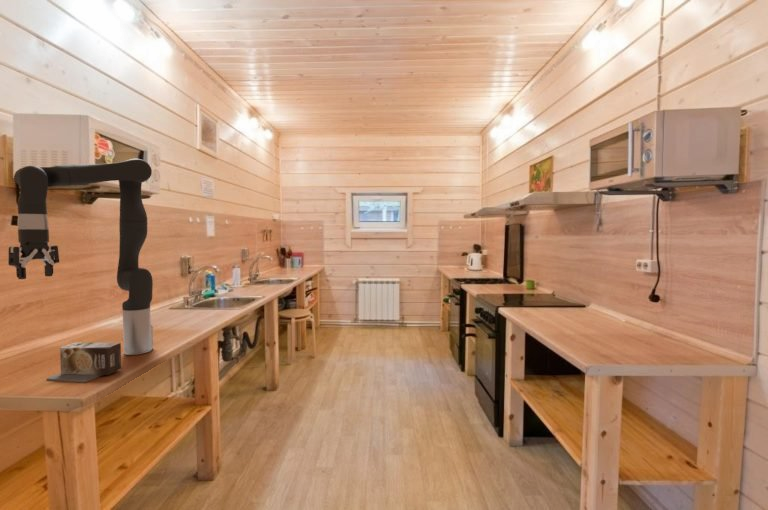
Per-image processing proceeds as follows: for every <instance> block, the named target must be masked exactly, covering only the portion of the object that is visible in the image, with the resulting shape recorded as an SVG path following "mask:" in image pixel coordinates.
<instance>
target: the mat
mask: <svg viewBox="0 0 768 510" xmlns="http://www.w3.org/2000/svg"><path fill="white" fill-rule="evenodd" d="M102 376H103V375H76V374H61V372H60V373H57V374H55V375H52V376H49V377H46V381H50V382H51V381H53V382H68V383H70V382H71V383H84V382H86V383H87V382H90V381H93V380H95V379H97V377H98V378H99V377H102Z"/></svg>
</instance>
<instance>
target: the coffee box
mask: <svg viewBox="0 0 768 510" xmlns="http://www.w3.org/2000/svg"><path fill="white" fill-rule="evenodd" d="M121 349H122V345H121V343H120V342H81V341H80V342H76V341H74V342H72V343H69V344H65V345H63V346H61V347H60V348H59V358H60V359H59V360H60V373H61V374H76V375H102V376H106V375H107V376H109V375H112V374H114V373H115V372H117V371H119V370H120V369H122V350H121Z"/></svg>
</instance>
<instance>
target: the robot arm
mask: <svg viewBox="0 0 768 510" xmlns="http://www.w3.org/2000/svg"><path fill="white" fill-rule="evenodd" d="M151 176H152V167H151V166H150V164H149V163H148V162H147V161H145V160H144V159H140V158H130V159H127V160H124V161H123V160H122V161H118V162H110V163H109V162H108V163H94V164H93V163H92V164H91V163H86V164H84V163H82V164H80V163H79V164H59V165H54V166H44V167H43V166H41V167H40V166H37V165H27V166H23V167H22V168H18V170H16V171H15V172H14V175H13V178H14V182H15V183H16V184H17V185H18V186H19V194H20V195H19V197H18V199H17V212H18V213H17V214H18V215H17V237H18V243H19V244H20V245H19V246H9V247H8V258H7V259H8V260H7V261H8V266H11V267H15V268H16V269H15V270H16V277H17V278H18V280H26V279H27V268H26V266H27V264H28V263H29V262H30V261H31V260H40V261H42V262H43V264H44V266H43V267H44V276H45V277H53V275H54V265H55V264H59V263H60V255H59V254H60V253H59V246H58V245H49V243H50V228H49V219H48V210H47V208H48V207H47V195H48V188H51V187H52V188H53V187H69V186H83V185H91V184H96V183H103V182H104V183H105V182H112V181H114V182H115V181H118V184H119V185H118V187H119V195H120V197H119V223H118V224H119V226H118V228H119V229H118V231H119V254H118V257H119V258H118V263H117V272H116V282H117V285H118V287H119V288H120V289H121V290H123V291H126V292H128V298H127V300H125V301H123V302H122V305H121V307H122V309H121V310H122V331H123V332H122V333H123V334H122V336H123V354H124V355H127V356H137V355H142V354H146V353H149V352H151V351H152V350H153V349H154V332H153V328H154V327H153V325H151V324H152V322H151V321H152V320H151V319H152V318H151V303H152V299H153V285H154V283H153V281H154V280H153V276H152V274H151V272H150V270H149V269H147V268H144V267H139V259H140V257H139V256H140V253H141V249H142V248H143V245H144V243H145V241H146V239H147V236H148V214H147V211H146V209H145V206H144V203H143V200H142V183H144V182H147V181H149V179H150V178H151Z"/></svg>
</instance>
